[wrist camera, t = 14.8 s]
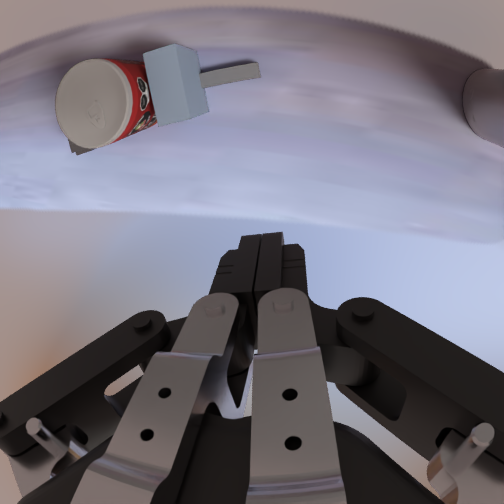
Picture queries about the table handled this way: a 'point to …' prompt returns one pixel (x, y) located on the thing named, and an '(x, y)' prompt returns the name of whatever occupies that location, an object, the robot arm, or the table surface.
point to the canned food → (104, 102)
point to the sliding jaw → (185, 82)
